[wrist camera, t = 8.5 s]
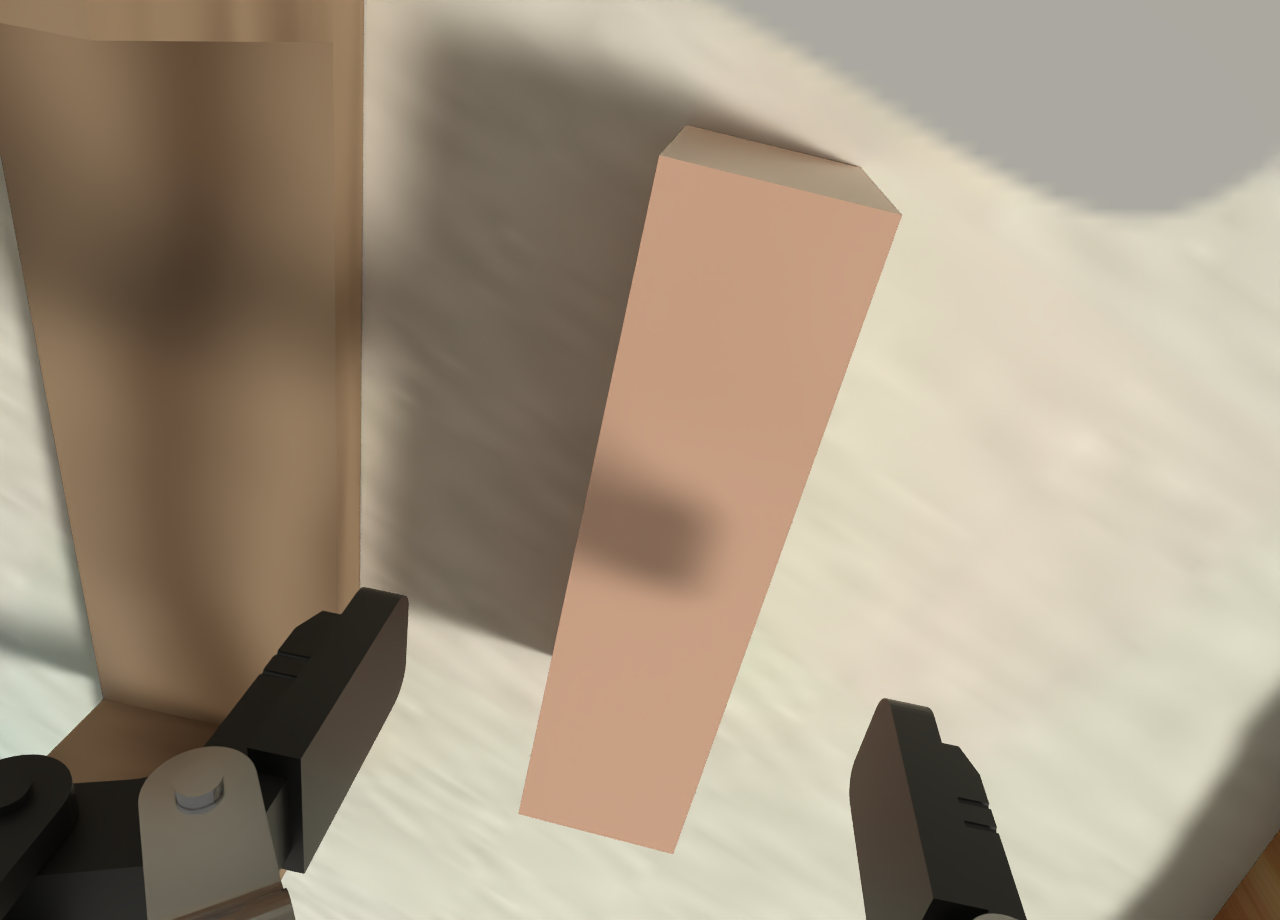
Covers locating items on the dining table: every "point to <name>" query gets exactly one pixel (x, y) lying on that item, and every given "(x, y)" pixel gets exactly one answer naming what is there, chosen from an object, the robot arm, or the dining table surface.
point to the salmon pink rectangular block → (699, 468)
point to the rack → (192, 335)
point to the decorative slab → (1257, 889)
